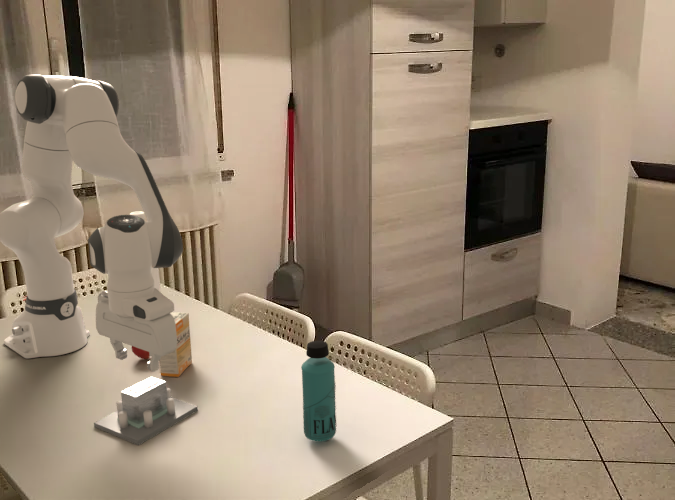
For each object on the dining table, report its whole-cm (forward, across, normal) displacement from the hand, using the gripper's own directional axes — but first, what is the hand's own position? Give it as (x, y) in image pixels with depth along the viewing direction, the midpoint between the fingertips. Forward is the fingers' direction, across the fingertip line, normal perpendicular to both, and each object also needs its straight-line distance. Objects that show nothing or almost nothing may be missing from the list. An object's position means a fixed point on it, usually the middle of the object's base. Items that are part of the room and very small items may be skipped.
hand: (137, 364), depth 141 cm
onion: (+13, -22, +20) cm, 33 cm away
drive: (+11, +1, +1) cm, 11 cm away
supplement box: (+13, -11, +20) cm, 27 cm away
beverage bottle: (+12, +36, +13) cm, 40 cm away
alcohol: (+13, -47, +42) cm, 64 cm away
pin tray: (+12, +1, +1) cm, 12 cm away
